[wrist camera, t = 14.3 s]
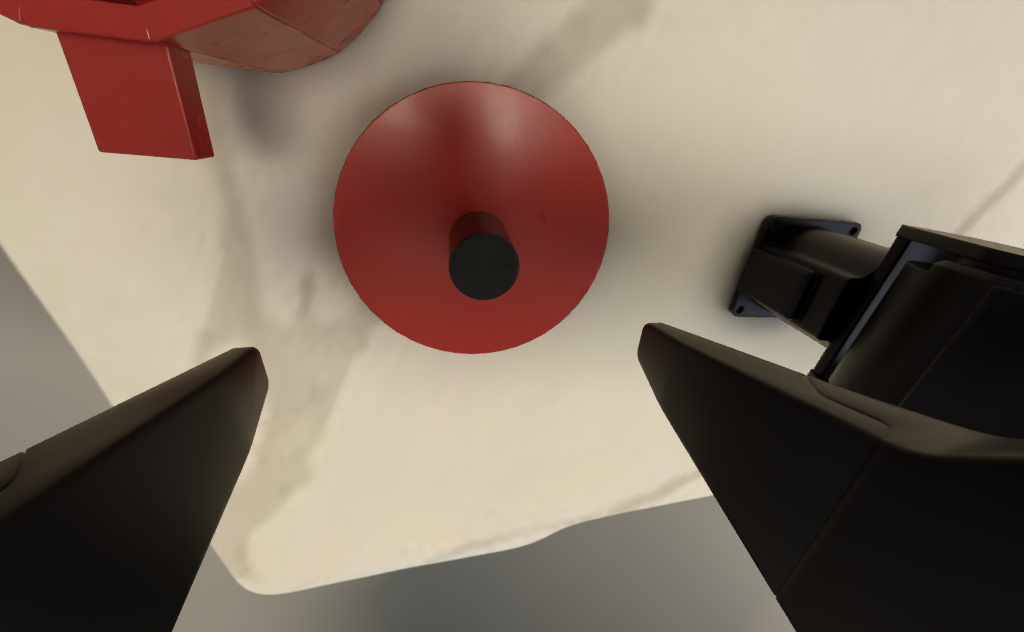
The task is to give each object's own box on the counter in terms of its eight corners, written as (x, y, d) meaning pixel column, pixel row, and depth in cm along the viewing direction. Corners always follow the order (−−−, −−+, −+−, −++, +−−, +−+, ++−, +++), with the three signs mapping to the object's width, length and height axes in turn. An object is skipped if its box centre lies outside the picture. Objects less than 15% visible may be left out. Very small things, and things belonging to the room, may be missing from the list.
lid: (628, 102, 19) (687, 98, 14) (577, 345, 25) (606, 398, 20) (322, 62, 16) (271, 42, 12) (351, 343, 23) (326, 402, 18)
